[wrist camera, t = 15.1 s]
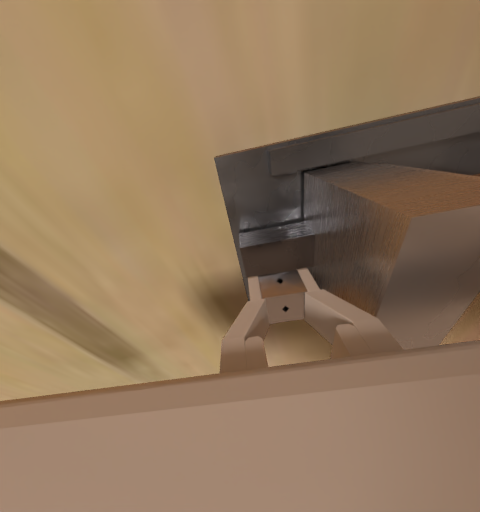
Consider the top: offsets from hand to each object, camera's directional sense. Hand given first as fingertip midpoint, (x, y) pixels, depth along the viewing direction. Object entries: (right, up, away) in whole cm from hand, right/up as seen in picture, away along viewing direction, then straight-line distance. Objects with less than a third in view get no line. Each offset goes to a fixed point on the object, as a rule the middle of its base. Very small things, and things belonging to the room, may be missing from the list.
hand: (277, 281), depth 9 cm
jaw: (+2, +3, +3) cm, 5 cm away
